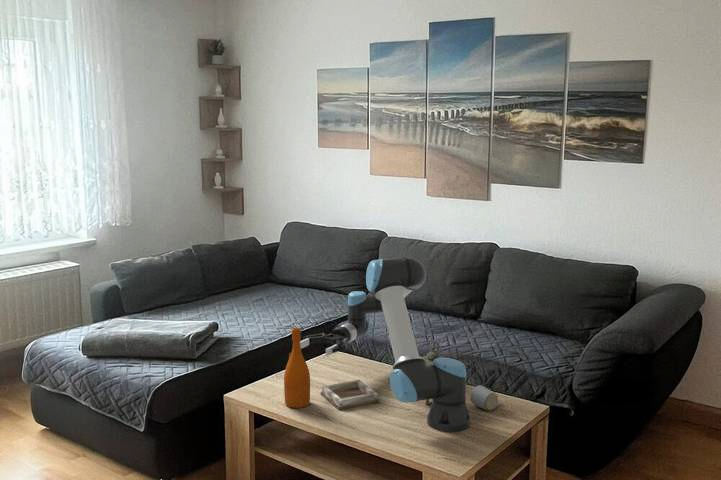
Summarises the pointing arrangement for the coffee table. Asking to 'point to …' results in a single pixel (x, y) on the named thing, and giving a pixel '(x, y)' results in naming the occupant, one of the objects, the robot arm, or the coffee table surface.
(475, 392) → the ceramic mug
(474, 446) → the coffee table surface
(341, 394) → the bottle stand
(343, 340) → the robot arm
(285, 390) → the wine bottle
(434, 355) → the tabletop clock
